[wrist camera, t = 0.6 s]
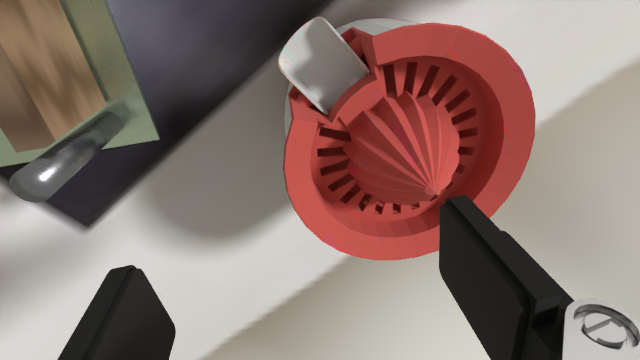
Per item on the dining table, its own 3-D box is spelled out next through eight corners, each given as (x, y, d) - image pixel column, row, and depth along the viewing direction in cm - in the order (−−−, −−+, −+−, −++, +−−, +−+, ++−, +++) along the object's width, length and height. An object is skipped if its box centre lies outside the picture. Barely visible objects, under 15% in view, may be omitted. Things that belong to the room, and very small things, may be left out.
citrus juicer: (348, -51, 29) (460, -110, 12) (454, 89, 37) (619, 179, 19) (232, 82, 33) (188, 181, 16) (348, 184, 41) (405, 327, 23)
